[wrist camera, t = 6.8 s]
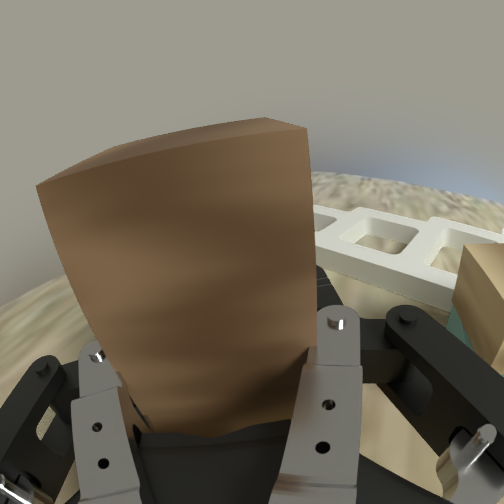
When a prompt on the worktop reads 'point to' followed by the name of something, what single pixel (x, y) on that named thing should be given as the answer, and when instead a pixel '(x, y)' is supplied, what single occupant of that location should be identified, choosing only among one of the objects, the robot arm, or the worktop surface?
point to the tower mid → (482, 300)
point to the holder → (399, 265)
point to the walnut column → (196, 269)
